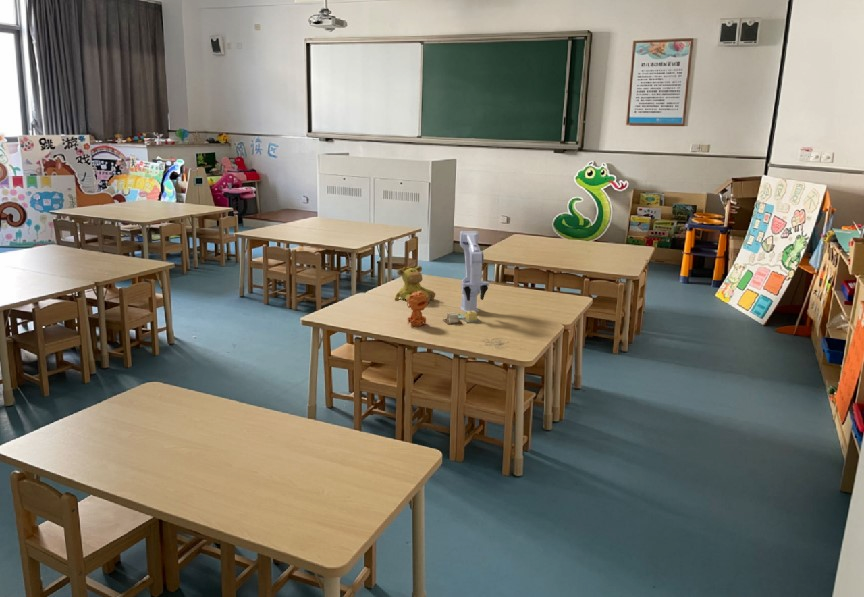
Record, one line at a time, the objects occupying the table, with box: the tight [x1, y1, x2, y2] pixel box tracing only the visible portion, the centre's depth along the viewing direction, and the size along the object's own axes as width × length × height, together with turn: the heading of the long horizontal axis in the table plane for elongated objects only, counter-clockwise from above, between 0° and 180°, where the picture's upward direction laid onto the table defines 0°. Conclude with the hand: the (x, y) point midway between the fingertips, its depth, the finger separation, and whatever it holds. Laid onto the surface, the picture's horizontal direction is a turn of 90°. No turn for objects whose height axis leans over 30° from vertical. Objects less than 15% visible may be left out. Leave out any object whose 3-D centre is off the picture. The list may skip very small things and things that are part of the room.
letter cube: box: [465, 311, 478, 321], centre depth 347 cm, size 4×4×5 cm
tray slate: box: [461, 316, 482, 324], centre depth 348 cm, size 8×8×1 cm
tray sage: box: [457, 312, 466, 320], centre depth 353 cm, size 8×8×1 cm
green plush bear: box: [394, 265, 436, 302], centre depth 384 cm, size 20×24×19 cm
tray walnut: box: [442, 318, 463, 326], centre depth 344 cm, size 8×8×1 cm
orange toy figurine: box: [406, 290, 430, 327], centre depth 337 cm, size 11×11×18 cm
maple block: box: [446, 311, 459, 323], centre depth 344 cm, size 4×4×4 cm
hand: (475, 299), depth 351 cm, fingers open, 7 cm apart
